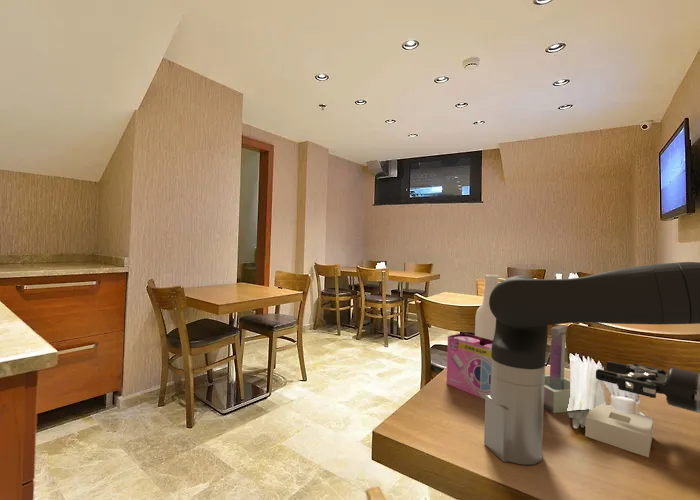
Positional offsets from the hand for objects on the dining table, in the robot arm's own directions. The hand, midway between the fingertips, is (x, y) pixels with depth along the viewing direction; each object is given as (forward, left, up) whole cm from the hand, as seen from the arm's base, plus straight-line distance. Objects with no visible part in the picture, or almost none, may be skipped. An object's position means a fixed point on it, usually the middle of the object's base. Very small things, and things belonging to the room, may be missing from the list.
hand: (601, 369), depth 81 cm
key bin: (-5, +8, -11) cm, 14 cm away
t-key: (-5, +8, -10) cm, 14 cm away
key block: (-4, -8, -11) cm, 14 cm away
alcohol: (-10, +29, -11) cm, 33 cm away
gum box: (-19, +14, -11) cm, 26 cm away
